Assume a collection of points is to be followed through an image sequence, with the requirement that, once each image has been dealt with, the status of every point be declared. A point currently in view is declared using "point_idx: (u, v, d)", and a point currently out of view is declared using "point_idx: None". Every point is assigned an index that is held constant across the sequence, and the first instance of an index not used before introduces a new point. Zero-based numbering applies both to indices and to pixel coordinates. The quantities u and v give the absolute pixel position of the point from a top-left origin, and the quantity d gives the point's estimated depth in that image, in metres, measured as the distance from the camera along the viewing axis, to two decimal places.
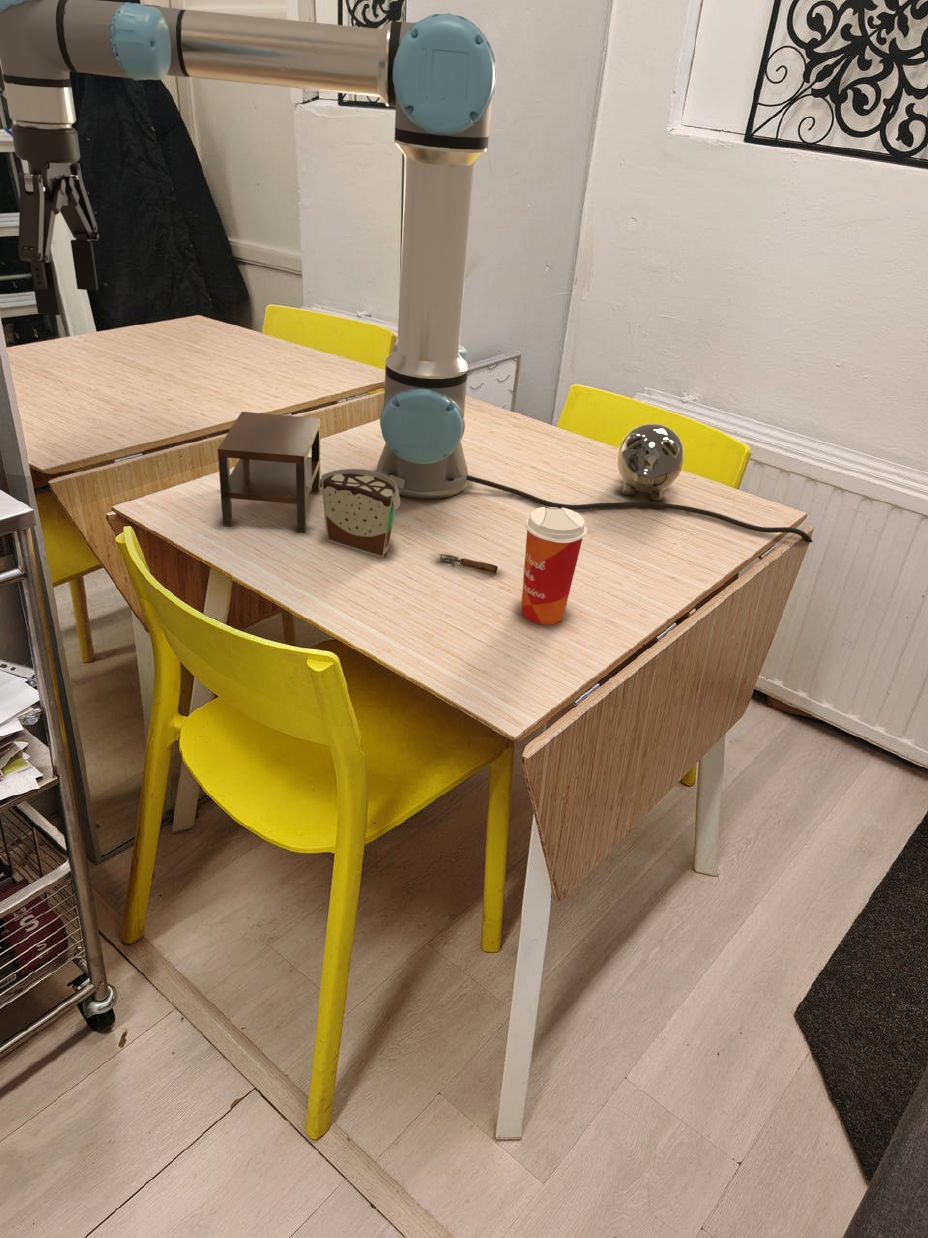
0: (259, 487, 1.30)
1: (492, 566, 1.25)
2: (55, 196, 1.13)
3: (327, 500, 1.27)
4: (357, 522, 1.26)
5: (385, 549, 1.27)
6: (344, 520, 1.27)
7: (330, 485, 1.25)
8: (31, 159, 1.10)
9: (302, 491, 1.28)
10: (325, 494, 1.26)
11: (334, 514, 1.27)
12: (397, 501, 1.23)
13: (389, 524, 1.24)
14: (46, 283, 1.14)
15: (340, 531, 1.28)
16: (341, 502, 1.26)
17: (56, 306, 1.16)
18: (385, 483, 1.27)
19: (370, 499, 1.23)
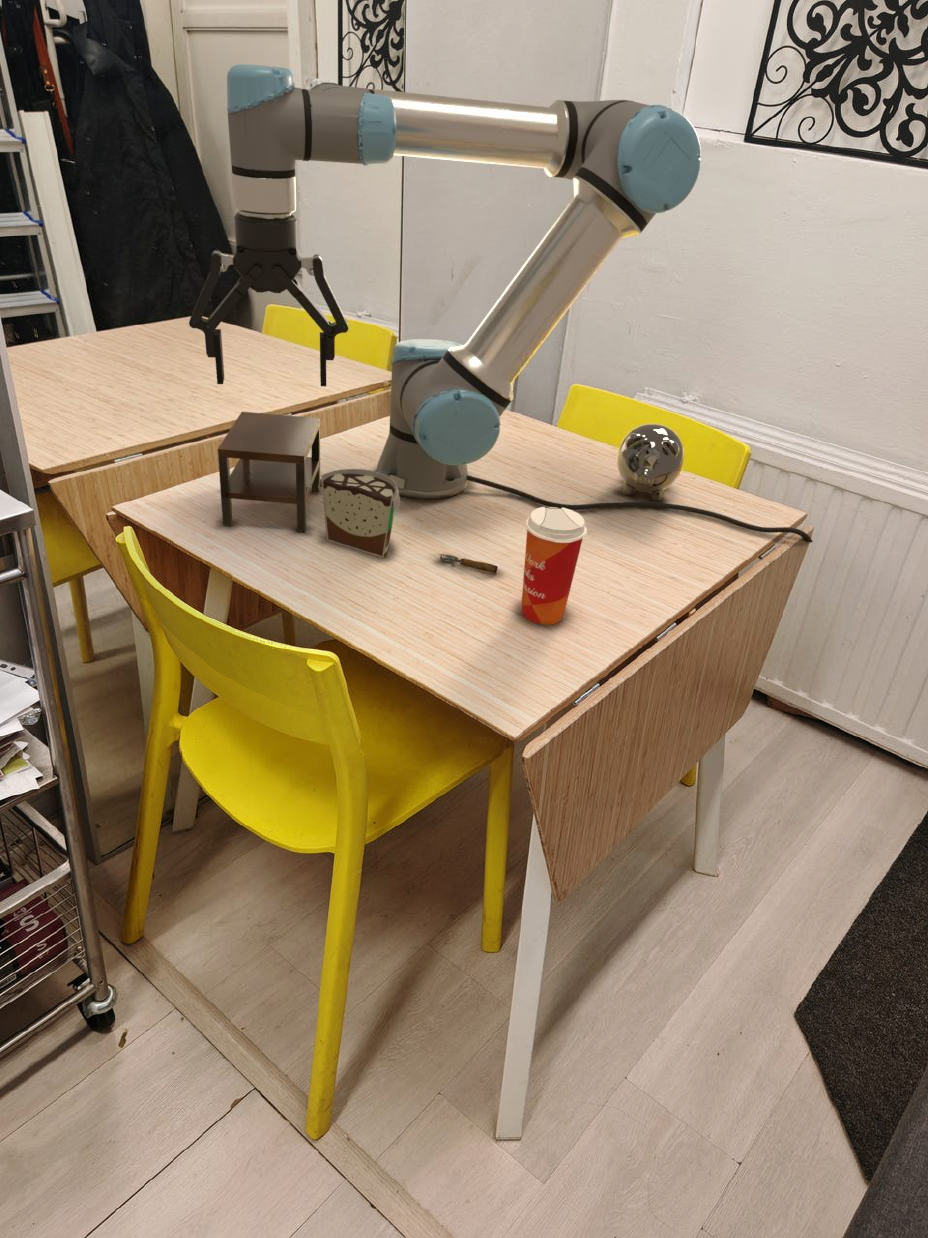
0: (259, 487, 1.30)
1: (492, 566, 1.25)
2: (242, 279, 1.13)
3: (327, 500, 1.27)
4: (357, 522, 1.26)
5: (385, 549, 1.27)
6: (344, 520, 1.27)
7: (330, 485, 1.25)
8: None
9: (302, 491, 1.28)
10: (325, 494, 1.26)
11: (334, 514, 1.27)
12: (397, 501, 1.23)
13: (389, 524, 1.24)
14: (209, 351, 1.18)
15: (340, 531, 1.28)
16: (341, 502, 1.26)
17: None
18: (385, 483, 1.27)
19: (370, 499, 1.23)
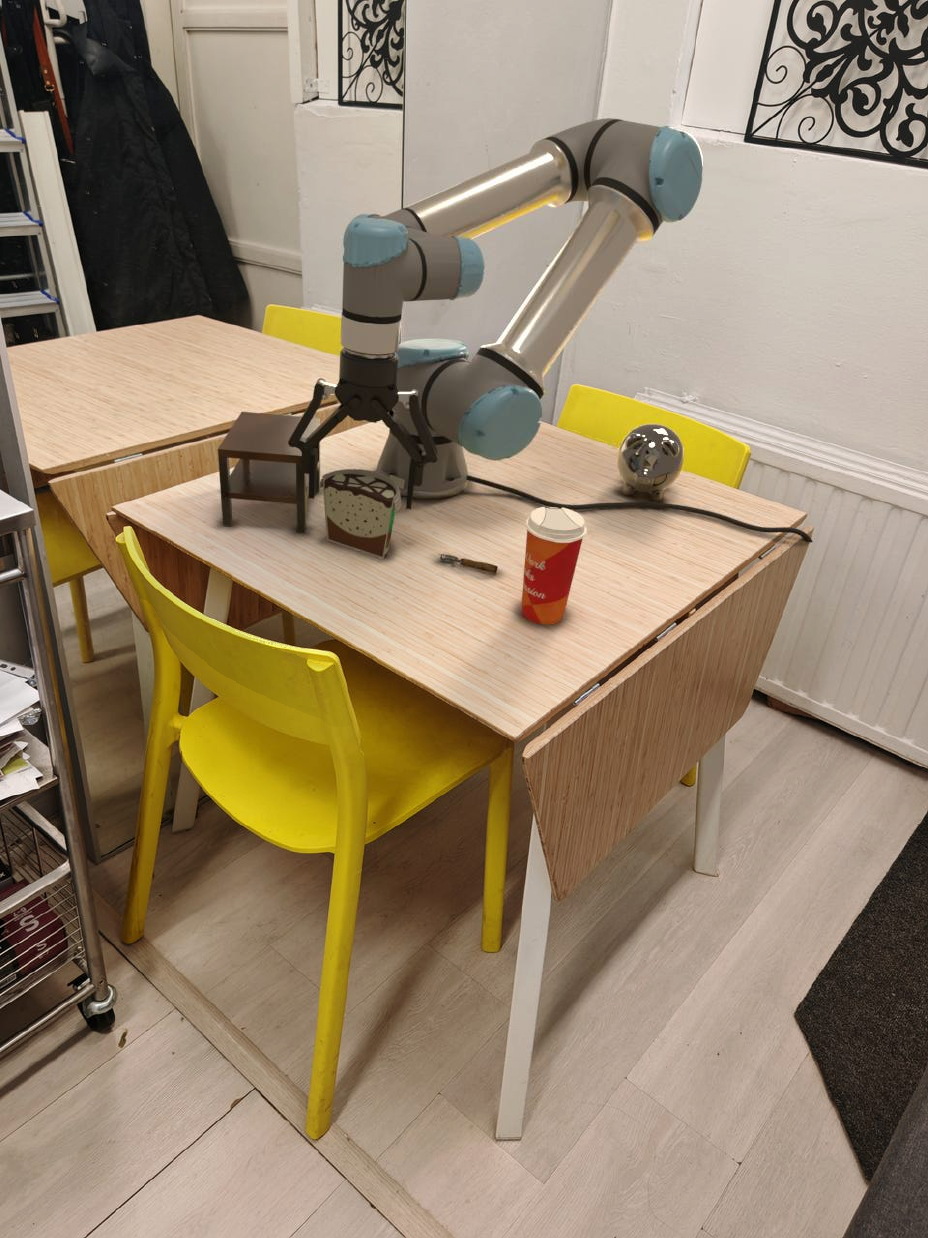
0: (259, 487, 1.30)
1: (492, 566, 1.25)
2: (342, 408, 1.18)
3: (328, 500, 1.26)
4: (357, 522, 1.26)
5: (386, 550, 1.27)
6: (345, 520, 1.27)
7: (331, 485, 1.25)
8: None
9: (302, 491, 1.28)
10: (326, 494, 1.26)
11: (335, 514, 1.27)
12: (398, 503, 1.23)
13: (390, 525, 1.24)
14: (304, 468, 1.24)
15: (340, 531, 1.28)
16: (342, 502, 1.26)
17: None
18: (386, 484, 1.26)
19: (371, 500, 1.23)
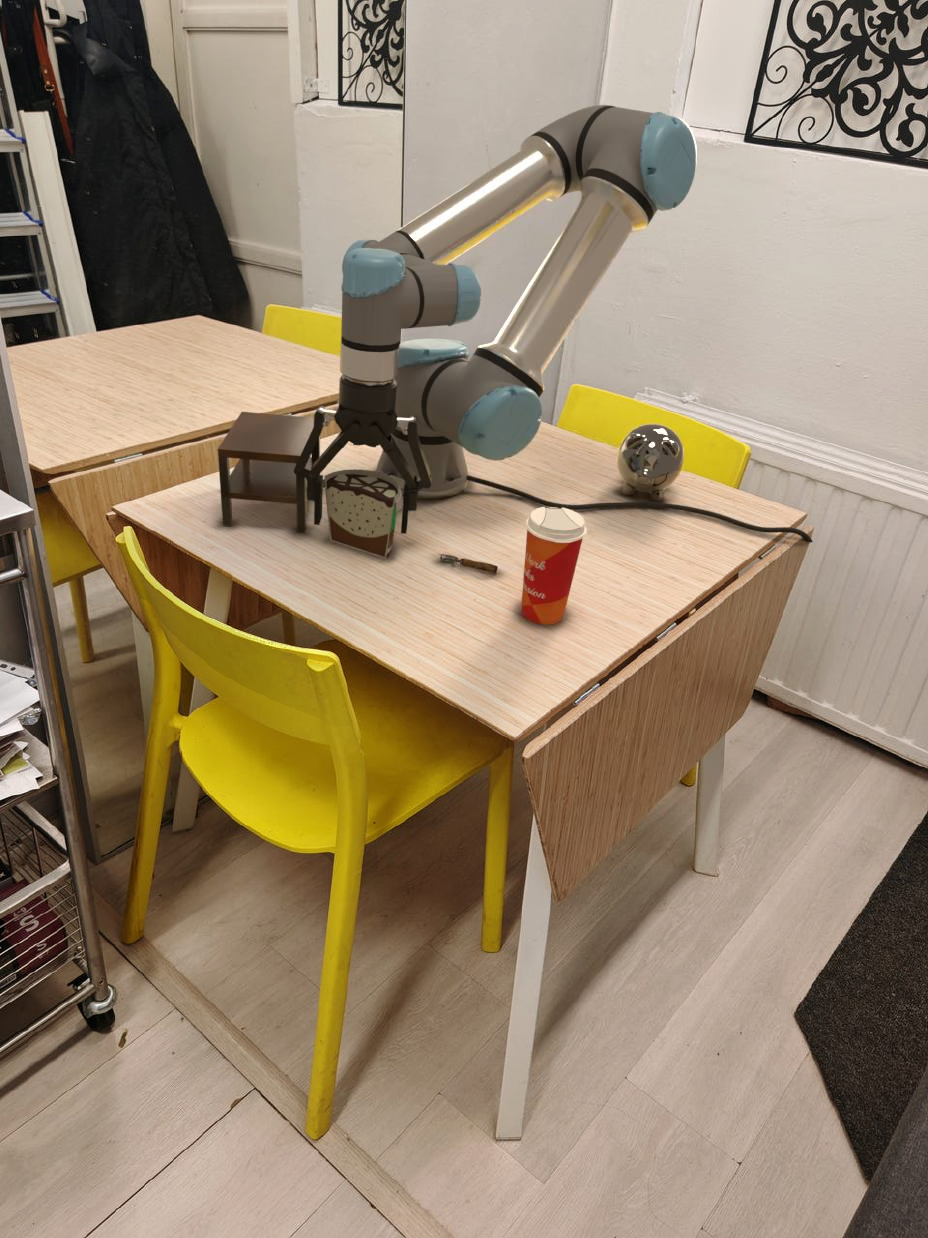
0: (259, 487, 1.30)
1: (492, 566, 1.25)
2: (342, 434, 1.20)
3: (330, 500, 1.27)
4: (359, 523, 1.26)
5: (388, 550, 1.27)
6: (347, 521, 1.27)
7: (333, 485, 1.25)
8: None
9: (302, 491, 1.28)
10: (328, 494, 1.26)
11: (337, 514, 1.27)
12: (400, 502, 1.23)
13: (392, 525, 1.24)
14: (309, 495, 1.26)
15: (343, 532, 1.28)
16: (344, 502, 1.26)
17: (314, 517, 1.27)
18: (388, 484, 1.26)
19: (373, 499, 1.23)
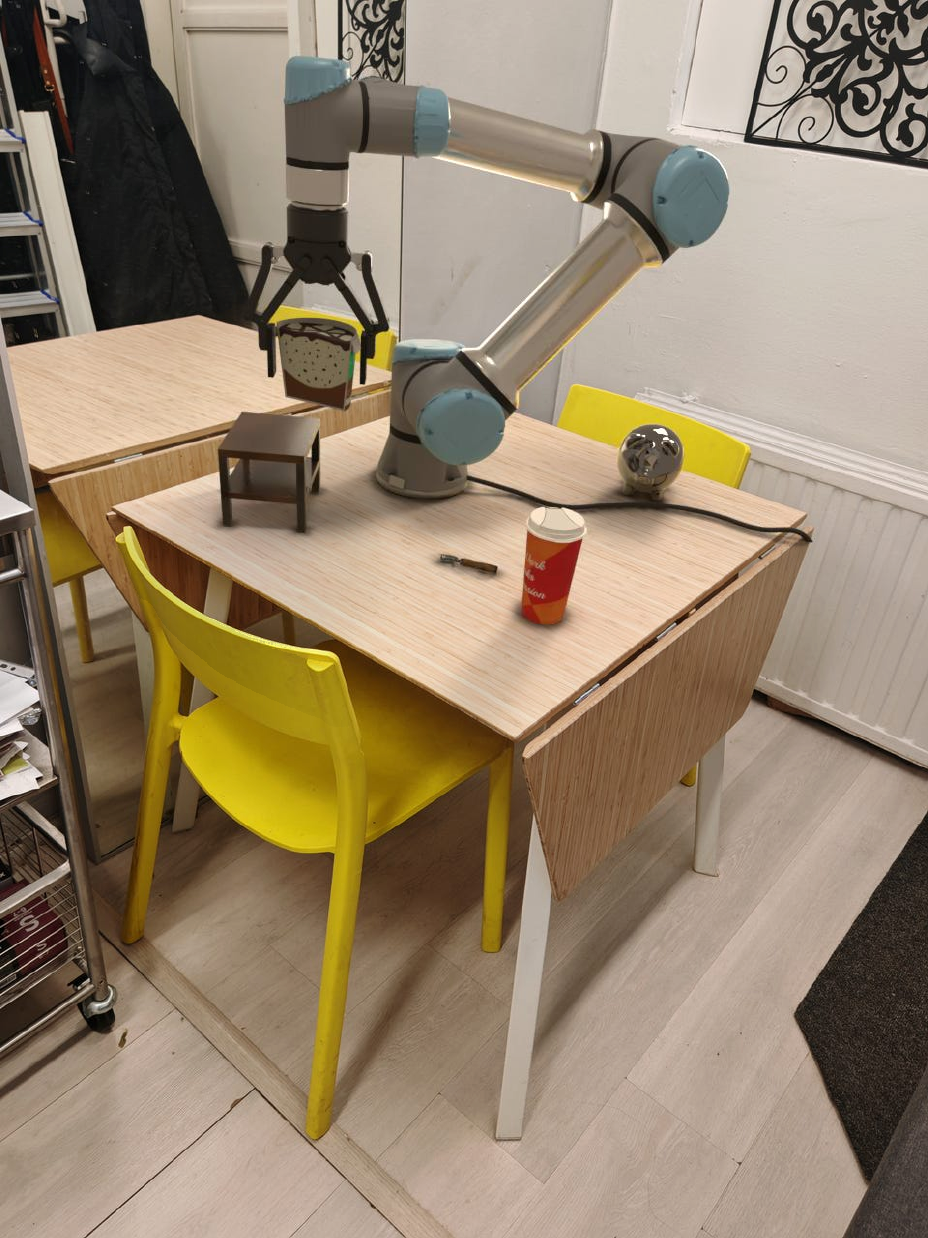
0: (259, 487, 1.30)
1: (492, 566, 1.25)
2: (292, 271, 1.13)
3: (284, 350, 1.20)
4: (315, 372, 1.19)
5: (347, 401, 1.20)
6: (302, 371, 1.20)
7: (286, 332, 1.18)
8: None
9: (302, 491, 1.28)
10: (281, 343, 1.19)
11: (292, 365, 1.20)
12: (357, 345, 1.16)
13: (349, 372, 1.17)
14: (261, 344, 1.19)
15: (298, 385, 1.21)
16: (299, 350, 1.19)
17: None
18: (345, 331, 1.19)
19: (328, 344, 1.16)
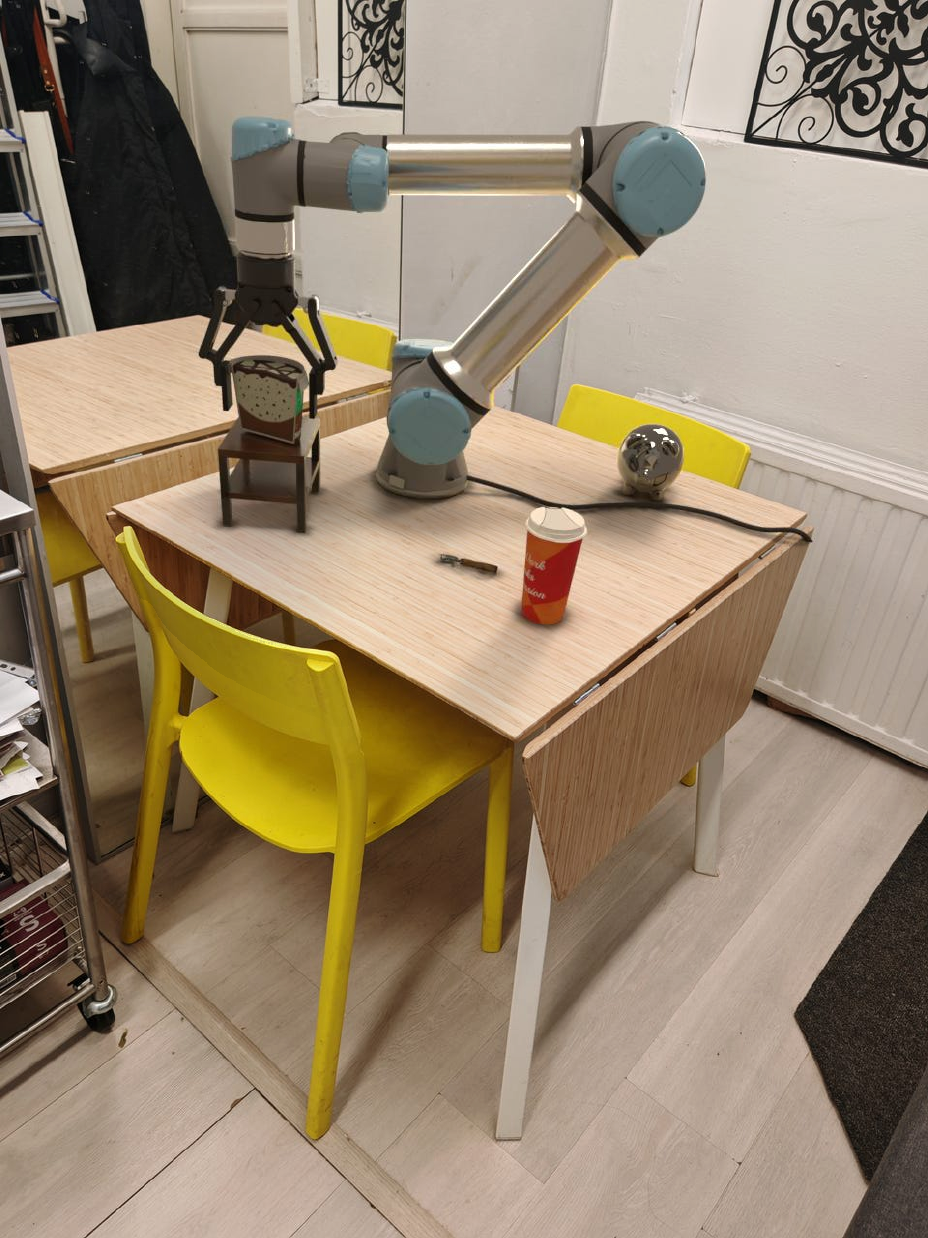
0: (259, 487, 1.30)
1: (492, 566, 1.25)
2: (243, 313, 1.21)
3: (238, 386, 1.27)
4: (267, 407, 1.26)
5: (296, 435, 1.27)
6: (255, 406, 1.27)
7: (239, 369, 1.25)
8: None
9: (302, 491, 1.28)
10: (235, 379, 1.26)
11: (245, 400, 1.27)
12: (304, 383, 1.23)
13: (297, 407, 1.24)
14: (216, 380, 1.26)
15: (251, 418, 1.28)
16: (251, 386, 1.26)
17: None
18: (295, 368, 1.27)
19: (277, 381, 1.23)
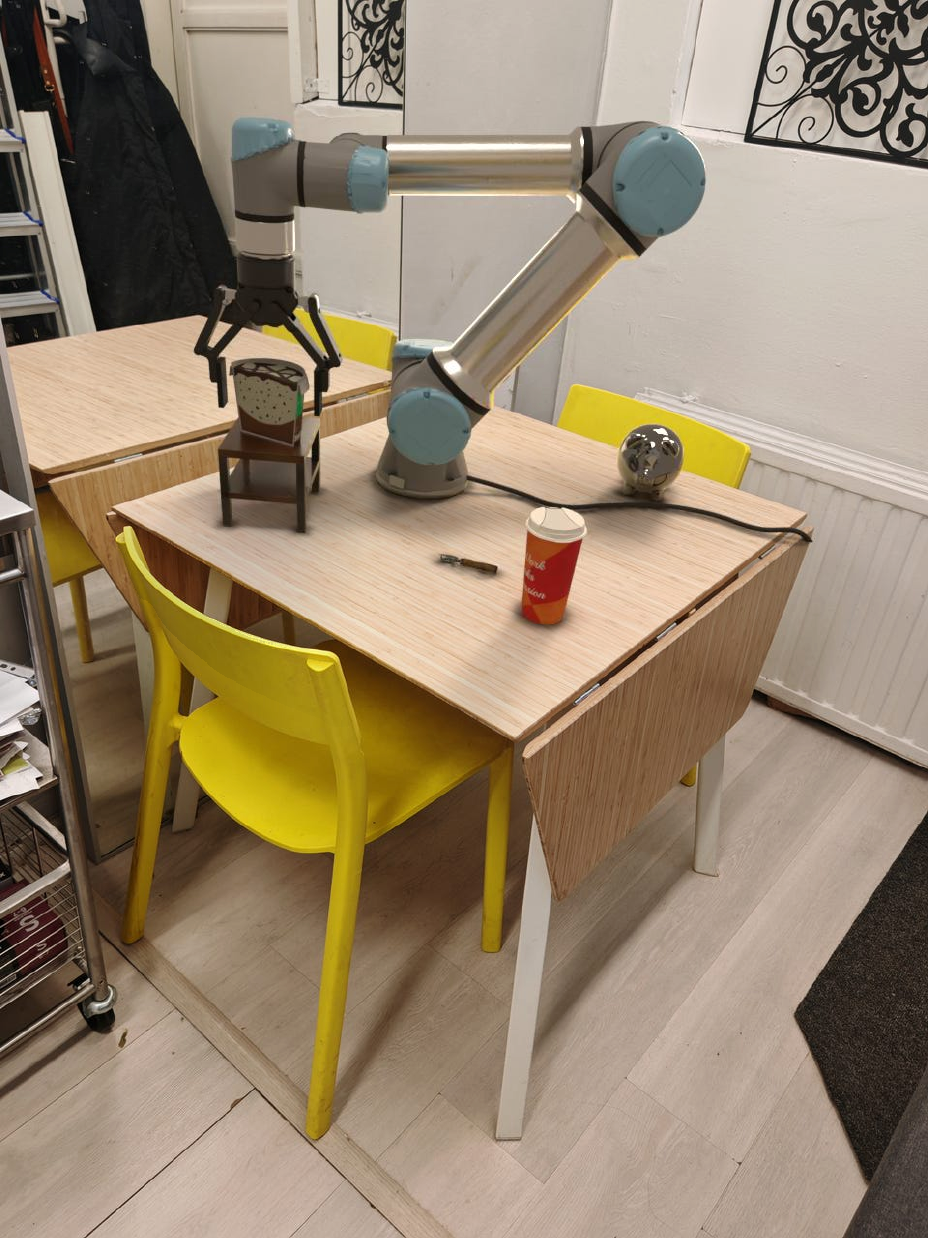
0: (259, 487, 1.30)
1: (492, 566, 1.25)
2: None
3: (238, 388, 1.27)
4: (267, 410, 1.27)
5: (295, 437, 1.27)
6: (255, 408, 1.27)
7: (240, 372, 1.26)
8: None
9: (302, 491, 1.28)
10: (236, 381, 1.27)
11: (245, 402, 1.28)
12: (304, 386, 1.23)
13: (297, 410, 1.25)
14: (212, 377, 1.26)
15: (252, 420, 1.29)
16: (252, 389, 1.26)
17: (218, 400, 1.27)
18: (296, 371, 1.27)
19: (278, 384, 1.24)
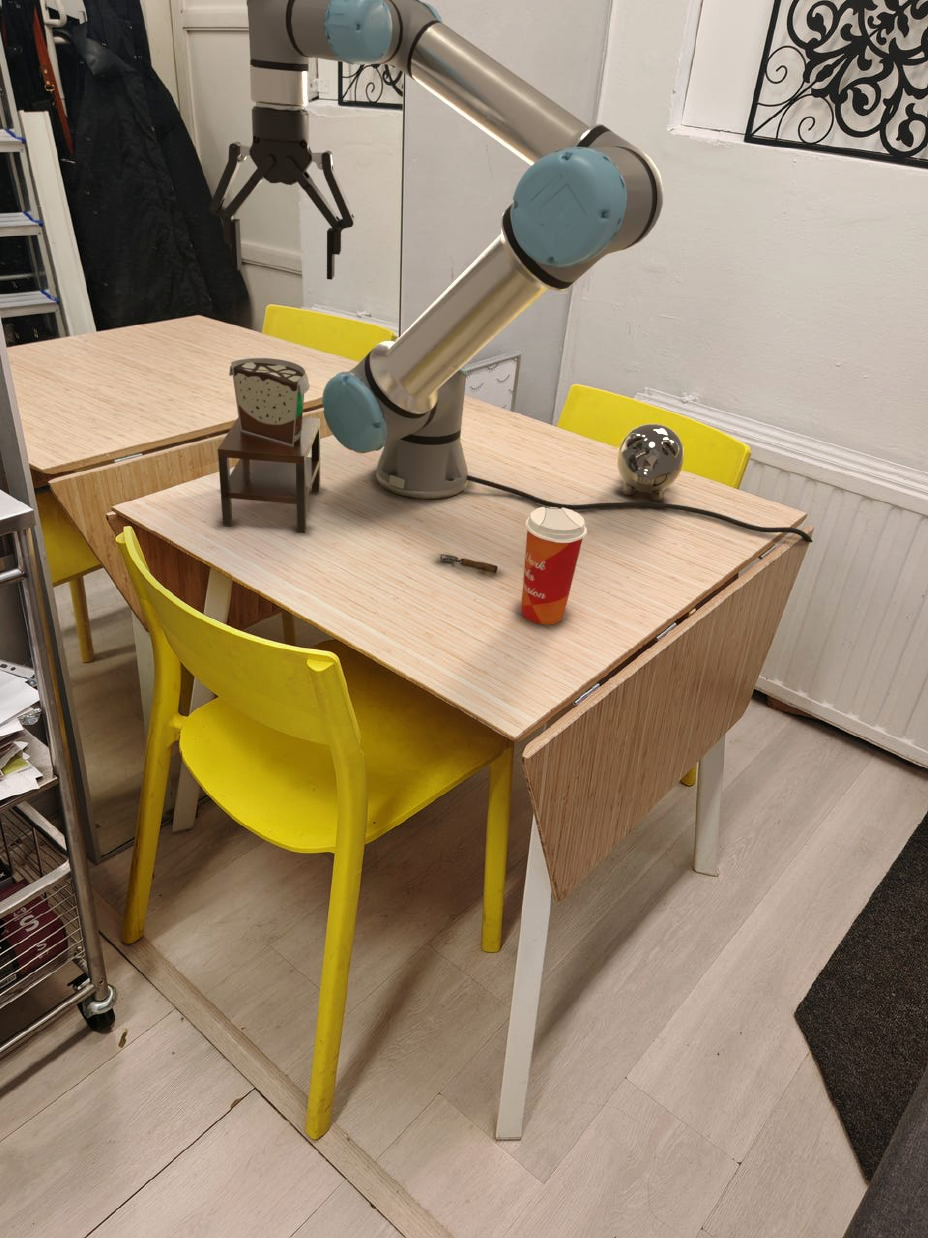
0: (259, 487, 1.30)
1: (492, 566, 1.25)
2: (257, 168, 1.22)
3: (238, 388, 1.27)
4: (267, 409, 1.27)
5: (295, 437, 1.27)
6: (255, 408, 1.27)
7: (240, 372, 1.26)
8: None
9: (302, 491, 1.28)
10: (236, 381, 1.27)
11: (245, 402, 1.28)
12: (304, 386, 1.23)
13: (297, 410, 1.25)
14: (226, 238, 1.28)
15: (252, 420, 1.29)
16: (252, 389, 1.26)
17: (232, 262, 1.29)
18: (296, 371, 1.27)
19: (278, 384, 1.24)
